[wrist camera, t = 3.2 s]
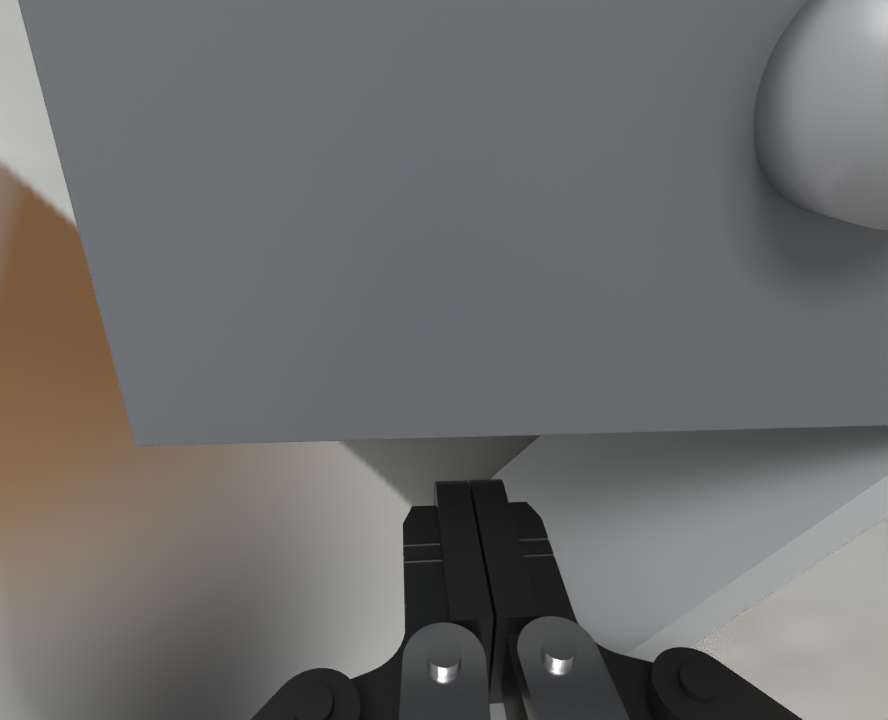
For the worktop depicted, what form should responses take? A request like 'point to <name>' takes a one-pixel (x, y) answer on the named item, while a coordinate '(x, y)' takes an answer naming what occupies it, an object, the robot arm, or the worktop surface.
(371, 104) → the grey knobbed box
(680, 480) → the side door
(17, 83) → the worktop surface
